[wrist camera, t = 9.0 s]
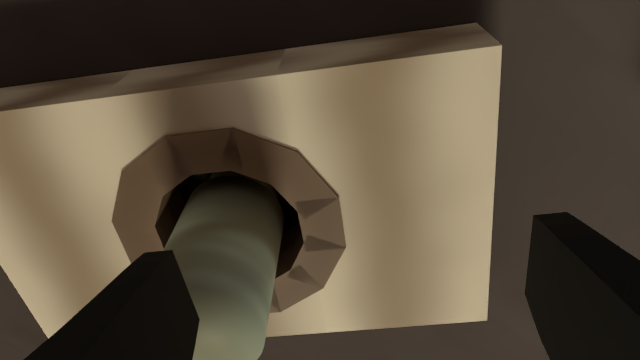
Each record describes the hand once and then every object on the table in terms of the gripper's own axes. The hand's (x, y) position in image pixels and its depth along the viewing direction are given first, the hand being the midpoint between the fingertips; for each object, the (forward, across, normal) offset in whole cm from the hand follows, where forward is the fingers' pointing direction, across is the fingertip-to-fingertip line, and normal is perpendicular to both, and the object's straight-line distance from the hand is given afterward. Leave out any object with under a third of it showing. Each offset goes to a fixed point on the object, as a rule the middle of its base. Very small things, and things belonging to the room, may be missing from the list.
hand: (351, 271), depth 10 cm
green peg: (+10, +5, +4) cm, 12 cm away
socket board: (+10, +5, +4) cm, 12 cm away
